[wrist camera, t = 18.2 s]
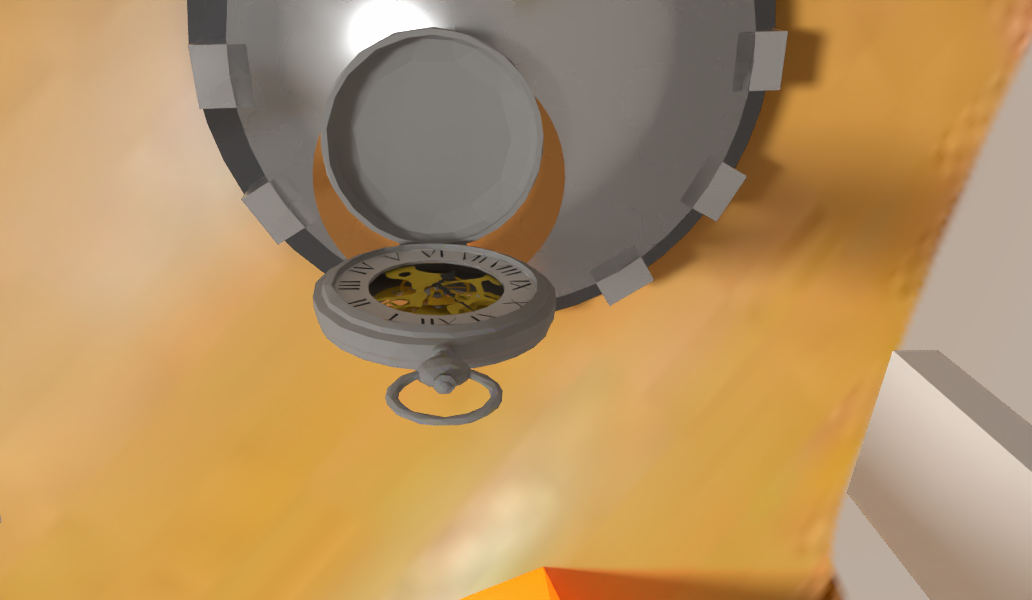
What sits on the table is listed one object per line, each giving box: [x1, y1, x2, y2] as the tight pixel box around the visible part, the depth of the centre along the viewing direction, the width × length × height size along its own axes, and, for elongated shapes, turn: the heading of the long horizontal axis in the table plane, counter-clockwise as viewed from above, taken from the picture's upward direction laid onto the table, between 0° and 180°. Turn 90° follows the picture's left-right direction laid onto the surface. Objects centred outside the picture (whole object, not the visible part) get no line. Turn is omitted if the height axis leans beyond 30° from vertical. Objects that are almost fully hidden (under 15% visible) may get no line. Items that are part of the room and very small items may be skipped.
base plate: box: [187, 0, 776, 311], centre depth 25 cm, size 19×19×1 cm
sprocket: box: [188, 0, 788, 306], centre depth 21 cm, size 18×18×8 cm
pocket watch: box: [313, 27, 556, 425], centre depth 20 cm, size 8×8×10 cm
